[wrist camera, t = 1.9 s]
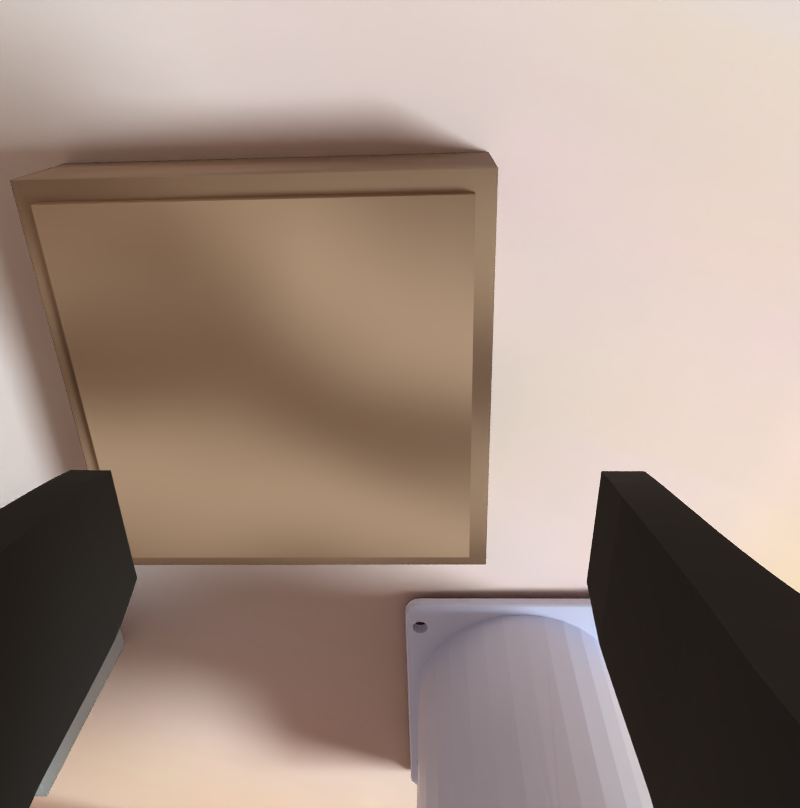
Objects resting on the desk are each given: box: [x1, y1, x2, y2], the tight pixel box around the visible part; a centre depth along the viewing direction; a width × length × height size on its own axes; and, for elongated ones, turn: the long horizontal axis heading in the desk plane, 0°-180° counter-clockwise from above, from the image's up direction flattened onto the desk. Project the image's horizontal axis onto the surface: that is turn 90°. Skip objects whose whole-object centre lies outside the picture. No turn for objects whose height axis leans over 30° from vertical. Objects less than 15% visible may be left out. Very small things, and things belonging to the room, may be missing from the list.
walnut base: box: [10, 152, 498, 565], centre depth 19 cm, size 11×11×3 cm
